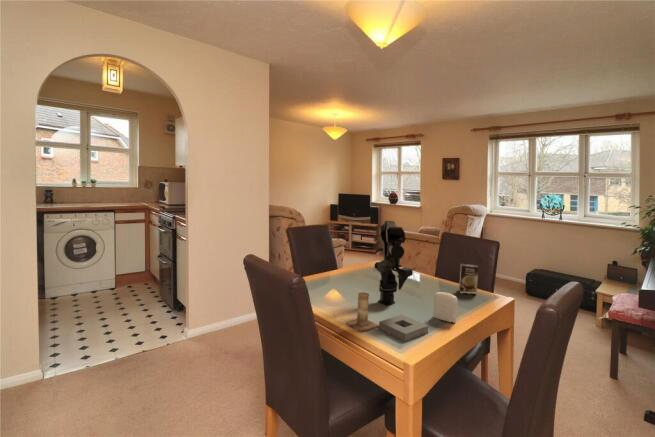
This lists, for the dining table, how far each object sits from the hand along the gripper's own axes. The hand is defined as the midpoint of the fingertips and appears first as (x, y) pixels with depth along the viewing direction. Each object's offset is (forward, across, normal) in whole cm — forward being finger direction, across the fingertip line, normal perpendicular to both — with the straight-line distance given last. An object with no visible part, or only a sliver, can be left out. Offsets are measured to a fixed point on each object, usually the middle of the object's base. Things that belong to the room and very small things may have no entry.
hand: (392, 286), depth 156 cm
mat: (+13, +2, -20) cm, 24 cm away
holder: (+13, +16, -10) cm, 22 cm away
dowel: (+12, +2, -20) cm, 24 cm away
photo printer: (+13, +18, +16) cm, 27 cm away
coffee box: (+13, +2, +63) cm, 64 cm away
